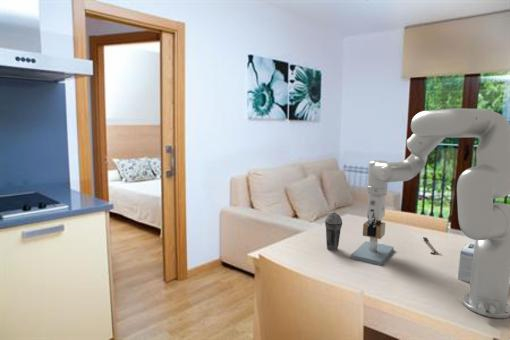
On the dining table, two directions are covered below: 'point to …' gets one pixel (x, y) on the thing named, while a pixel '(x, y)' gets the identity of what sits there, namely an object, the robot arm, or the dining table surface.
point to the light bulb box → (466, 262)
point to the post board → (372, 252)
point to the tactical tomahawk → (431, 246)
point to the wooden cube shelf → (379, 229)
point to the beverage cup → (333, 230)
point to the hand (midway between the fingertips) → (373, 233)
